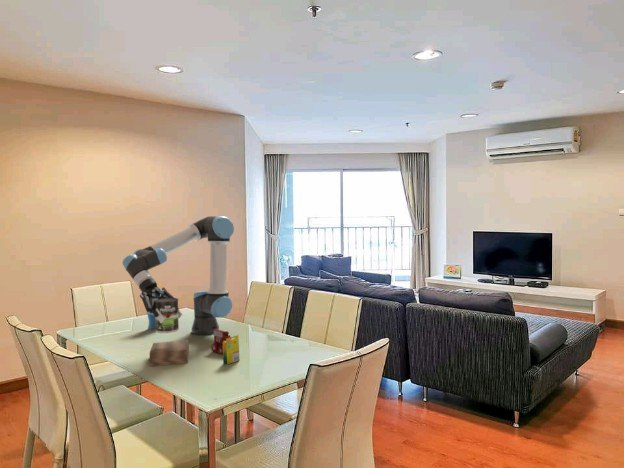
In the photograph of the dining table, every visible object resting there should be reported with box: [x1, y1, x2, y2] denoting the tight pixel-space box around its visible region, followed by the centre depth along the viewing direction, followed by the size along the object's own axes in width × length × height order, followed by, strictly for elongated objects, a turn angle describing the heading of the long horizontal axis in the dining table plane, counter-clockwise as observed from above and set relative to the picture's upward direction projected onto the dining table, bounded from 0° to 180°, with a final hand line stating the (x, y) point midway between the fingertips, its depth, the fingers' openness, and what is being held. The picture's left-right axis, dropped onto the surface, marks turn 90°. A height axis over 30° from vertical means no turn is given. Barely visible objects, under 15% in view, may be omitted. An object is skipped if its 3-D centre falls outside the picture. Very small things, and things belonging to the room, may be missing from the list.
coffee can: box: [155, 297, 180, 334], centre depth 212 cm, size 10×10×14 cm
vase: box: [146, 294, 161, 330], centre depth 269 cm, size 8×8×20 cm
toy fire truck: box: [210, 329, 231, 356], centre depth 221 cm, size 7×12×10 cm, turn 50°
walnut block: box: [149, 339, 190, 367], centre depth 212 cm, size 16×16×6 cm
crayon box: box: [222, 334, 240, 365], centre depth 207 cm, size 7×3×12 cm, turn 141°
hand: (172, 318), depth 210 cm, fingers closed on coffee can, 10 cm apart
